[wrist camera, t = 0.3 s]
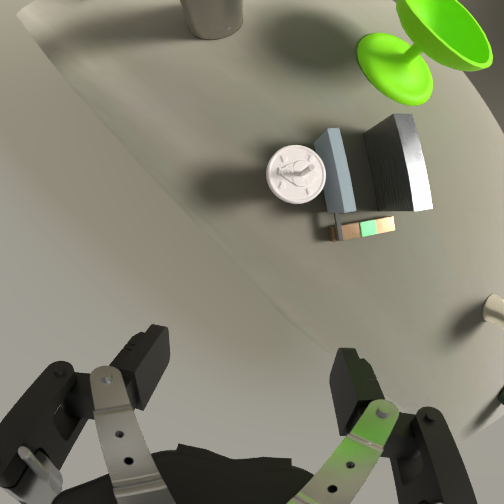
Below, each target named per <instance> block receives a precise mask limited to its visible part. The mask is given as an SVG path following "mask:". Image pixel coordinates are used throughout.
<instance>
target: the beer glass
mask: <svg viewBox="0 0 504 504" xmlns="http://www.w3.org/2000/svg"><path fill="white" fill-rule="evenodd" d="M483 318H484V320H485V321H488V322H493V323H495V324H497V325H499V326H500V327H501V328H502V329H503V330H504V299H502V298H500V297H499V296H497V295H496V294H492V295H490V296H489V297H488V299H487V300H486V302H485V304H484V307H483Z"/></svg>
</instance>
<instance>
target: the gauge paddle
mask: <svg viewBox="0 0 504 504" xmlns="http://www.w3.org/2000/svg"><path fill="white" fill-rule="evenodd" d="M314 147H315V151H316V154H317V155H318V156H319V157H320V158H321V160H322V162H323V164H324V167H325V171H326V180H325V184H324V187H323V190H324V195H325V201H326V206H327V212H328V213H334V218H335V224H336V231H337V237H338V241H344V240H343V234H342V227H341V221H340V215H339V213H346V212H352V211H356V205H355V199H354V194H353V188H352V183H351V178H350V173H349V168H348V164H347V159H346V155H345V150H344V146H343V142H342V138H341V134H340V130H339V128H329V129H326V130H325V132H324V133H323V134H322V135H321V136H320V137H319V138H318V139H317V140H316V141H315V142H314Z"/></svg>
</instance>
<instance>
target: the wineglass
mask: <svg viewBox="0 0 504 504" xmlns="http://www.w3.org/2000/svg"><path fill="white" fill-rule="evenodd" d="M396 10H397V13H398V16H399V19H400V22H401V25H402V27H403V29H404V30H405V32H406V34H407V35H408V36H409V38H410V39H411V40H412V41H413V42H414V44H413V45H412V46H410V45H409V44H408V43H407V42H405V41H403V40H402V39H400V38H398V37H396V36H393V35H390V34H385V33H373V34H369V35H367V36H365V37H363V38H362V39H361V41H360V42H359V43H358V48H357V56H358V61H359V64H360V66H361V68H362V71H363V72H364V73H365V75H366V76H367V78H368V79H369V81H370V82H371V83H372V84H373V85H374V86H375V87H376V88H377V89H378V90H379V91H381V92H382V93H383V94H385V95H386V96H387V97H389V98H391V99H393V100H395V101H396V102H398V103H402V104H405V105H410V106H418V105H420V104H423V103H425V102H426V101H427V100H428V99H429V98H430V95H431V93H432V90H433V81H432V76H431V72H430V70H429V68H428V66H427V64H426V62H425V61H424V59H423V58H422V56H421V55H420V54H421V53H422V52H424V53H425V54H426V55H427V56H429V57H430V58H432V59H433V60H435V61H436V62H438V63H440V64H442V65H444V66H447V67H450V68H453V69H456V70H461V71H477V70H481V69H484V68H487V67H489V66H490V65H491V64H492V58H493V56H492V51H491V47H490V44H489V42H488V40H487V37H486V35H485V34H484V32H483V30H482V29H481V27H480V25H479V24H478V23H477V21H476V20H475V19H474V18H473V16H472V15H471V14H470V13H469V12H468V11H467V10H466V9H465V8H464V7H463V6H462V5H461V4H460V3H459V2H458V1H457V0H396Z"/></svg>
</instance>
